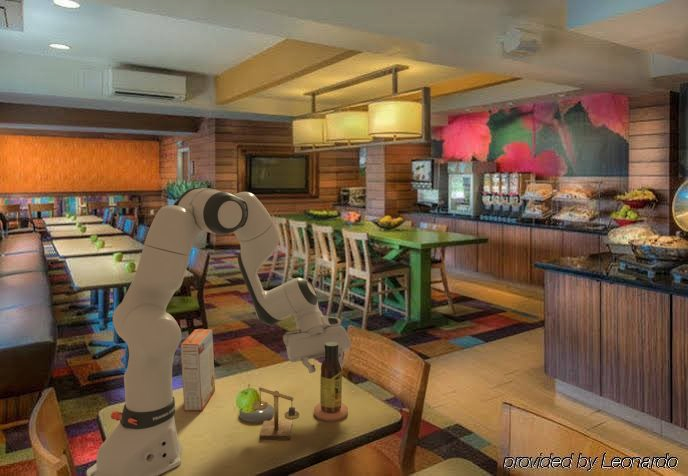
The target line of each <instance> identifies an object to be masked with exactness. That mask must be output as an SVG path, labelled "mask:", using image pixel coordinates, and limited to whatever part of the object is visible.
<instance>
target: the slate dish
mask: <svg viewBox="0 0 688 476" xmlns="http://www.w3.org/2000/svg"><path fill="white" fill-rule="evenodd" d="M239 418H240V420H241V421H242V422H245V423H249V424H260V423H264V421H271V420H272V419H273V418H274V406H272V405H271V404H269V403H268V407H267V408H265V409H262V410H256V411H254V412H252V413H244V412H242V411H241V409H240V410H239Z"/></svg>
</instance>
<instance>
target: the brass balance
mask: <svg viewBox="0 0 688 476" xmlns="http://www.w3.org/2000/svg"><path fill="white" fill-rule="evenodd" d="M258 391H259V401H255V402H254V404H253V403H252V404H253V408H254V409H257V410H262V409H265V408H267V407H268V404H269V403H268V402H267V401H265V400H262V393H265V394H268V395H271V396H273V408H274V416H273V419H274V420H268V421H264V422H262V426H261V428H260V429H261V430H260V433H259V441H260V440H266V441H267V440H269V441H270V440H272V441H279V440H280V441H281V440H282V441H284V440H285V441H287V440H289V441H290V439H291V435H292V430H293V425H294V424H293V420H297V419H299V417H300V412H299V411H296V407H295V406H294V407H293V401H294V397H292V396H289V395H286V394H283V393H280V392H279V391H278V390H269V389H267V388H264V387H259V388H258ZM279 398H282V399H285V400H288V401H291V402H290V403H291V405H290V406H291V407H289V408H288V411H286V412H285V413H284V418H285V419H287V420H280V419H279V417H280V415H279Z"/></svg>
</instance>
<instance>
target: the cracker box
mask: <svg viewBox="0 0 688 476" xmlns="http://www.w3.org/2000/svg"><path fill="white" fill-rule="evenodd" d="M213 339H214V337H213V329H212V328H211V329H206V328H205V329H204V328H203V329H202V328H198V329H195V328H194V330H193V331H192V332H191V333H190V334H189V336H187V338H186V339H184V341H183V342H181V343H180V344H179V347H180V357H181V358H180V359H181V360H180V361H181V374H182V375H181V376H182V392H183V394H182V395H183V407H184V411H187V412H188V411H195V412H196V411H197V412H201V411H203V410H204V409H205V408H206V405H207V404H208V402H209V401H210V400H211V397H212V396H213V395H214V393H215V391H216V383H215V381H216V380H215V379H216V377H215V364H214V363H215V361H214V359H215V358H214V340H213Z"/></svg>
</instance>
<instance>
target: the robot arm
mask: <svg viewBox="0 0 688 476" xmlns="http://www.w3.org/2000/svg"><path fill="white" fill-rule="evenodd" d="M202 231H203V232H205V233H212V234H216V235H228V234H232V233H233V235H234V236H235V237H236V239H237V240H238V243H239V245H240V251H239V252H238V253H237V263H238V266H239V270H240V273H241V276H242V278H243V281H244V284H245V286H246V288H247V292H248V293H249V296H250V299H251V301H252V304H253V307H254V311H255V315H256V318H258V320H259V322H260V323H263V324H264V325H268V326H275V325H277V324H278V323H279V322H281V321H283V320H284V319H287V318H289V317H291V316H294V319H295V321H294V322H295V325H296V328H297V330H292V331H286V332H285V333H284V334H283V336H282V340H283V343H284V345H285V348H286V354H287V358H288V360H289V361H290V362H291V363H297V362H301V363H302V365H303V366H304V367H306V369H308V373H309V374H312V373H315V372H316V366H315V364H312V363H310V362H309V360H310V359H311V360H312V359H317V358H320V357H325V347H324V345H325V343H327V342H336V343H338V360H339V363H340V366H341V367H343V366H344V365H345V363H344V360H343V358H344V353H346V352H348V351H349V350H350V348H351V346H352V341H351V339H350V336H349V334H348V332H347V330H346V328H344V326H342V325H341V324H342V321H341V319H340V318H338V317H332V316H328V315H327V316H326V315H323V312H322V311H321V310H320V308H319V302H318V301H319V300H318V299H319V298H318V295H317V292H316V290H315V286H314V285H313V284H312V282H311V281H309V279H305V278H302V277H299V276H298V277H296V278H293V279H290V280H288V281H286V282H284V283H282V284H281V285H278V286H276V287H274V288H272V289H270V290H264V287H263V285H262V282H261V280H260V277H259V275H258V271H259V270H260V268H261V266H263V264H264V263H265V262H266V261H267V260H268V259H269V258H270V257H271V256H272V255H273V254H274V253H275V251H276V249H277V248H278V245H279V242H280V233H279V230H278V227H277V225H276V223H275V222H274V219H273V218H272V216H271V215H270V213H269V212H268V210H267V209H266V207H265V206H264V205H263V203H262V202H261V201H260V200H259V199H258V198H257V196H256V195H255V194H254V193H252V192H249V191H241V192H237V193H235V194H233V193H230V192H227V191H222V190H221V191H220V190H218V189H215V188H208V187H205V188H204V187H203V188H202V187H192V188H189V189H186V190H184V192H183V193H181V194H180V195H179V197H178V199H176V201H175V203H174V204H171V205H165V206H163V207H160V209H159V210H158V211H157V212H156V214H155V216H154V218H153V219H152V223H151V224H150V227H149V230H148V232H147V234H146V237H145V240H144V244H143V248H142V250H141V254H140V257H139V261H138V265H137V268H136V270H135V273H134V277H133V279H132V282H131V284H130V285H129V287H128V289H127V291H126V293H125V295H124V297H123V299H122V301H121V302H120V303H119V304H118V305H117V306H116V308H115V309H114V311H113V315H112V323H113V327H114V330H115V332H116V334H117V335H118V337H119V338H121V339H122V340H123V341H124V342H125V343H126V345H127V348H128V361H127V367H126V370H125V372H124V375H123V380H124V381H123V382H124V385H123V386H124V400H125V403H124V406H123V409H122V412H121V411H118V410H113V411H112V412H111V414H110V418H111V419H112V420H115V421H116V422H118V421H119V423H118V425H117V426H116V427H115V428H114V430H113V431H112V432H111V433H110V435H109V436H108V437H107V438H106V439H105V440H104V441H103V442H102V444H101V445H100V446H99V448H98V450H97V453H96V462H95V463H94V464H93V465H91V466H90V467H89V468H88V469H87V470H86V474H85V475H86V476H159V475H161V474H164V473H166V472H168V471H170V470H172V469H174V468H176V467H178V466H179V465H181V464H182V461H181V455H182V452H183V447H182V444H181V443H180V438H179V434H178V431H177V426H176V419H175V414H176V400H175V396H173V395H174V394H173V393H174V391H173V364H174V358H175V353H176V351H177V349H178V348H179V347H180V345H181V343H182V330H181V328H180V326H179V324H178V322H177V321H176V319H175V318H174V316H172V315H171V314H170V313H169V312H167V307H168V305H169V304H170V301H171V299H172V298H173V296H174V294H175V292H177V290H179V289H180V288H181V286H183V281H184V278H185V274H186V271H187V267H188V264H189V260H190V255H191V252H192V249H193V244H194V241H195V239H196V237H197V236H198V235H199V234H200V233H201V232H202Z"/></svg>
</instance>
